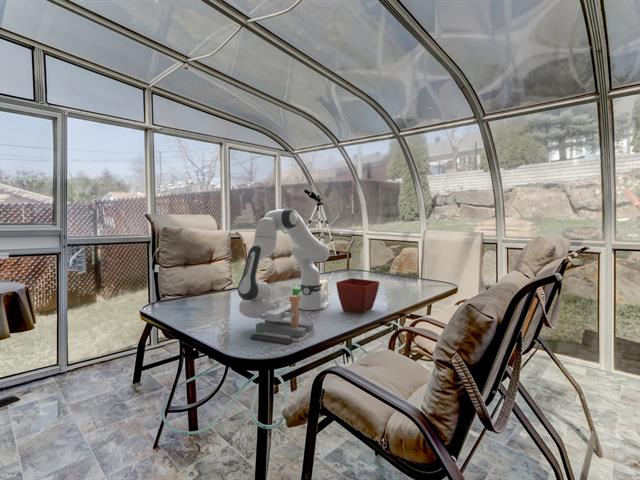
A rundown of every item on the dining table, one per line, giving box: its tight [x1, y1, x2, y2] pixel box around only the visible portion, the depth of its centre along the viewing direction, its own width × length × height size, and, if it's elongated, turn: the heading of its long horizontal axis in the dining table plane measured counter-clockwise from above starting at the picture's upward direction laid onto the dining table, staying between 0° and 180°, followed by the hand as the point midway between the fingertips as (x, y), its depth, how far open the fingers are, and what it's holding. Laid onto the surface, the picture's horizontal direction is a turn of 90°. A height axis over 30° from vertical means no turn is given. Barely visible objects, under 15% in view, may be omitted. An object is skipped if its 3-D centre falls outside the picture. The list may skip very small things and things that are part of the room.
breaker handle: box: [288, 294, 300, 327], centre depth 159 cm, size 4×4×16 cm
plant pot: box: [335, 277, 380, 314], centre depth 202 cm, size 19×19×17 cm
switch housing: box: [252, 319, 316, 342], centre depth 162 cm, size 16×24×4 cm
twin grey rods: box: [250, 334, 294, 345], centre depth 151 cm, size 4×20×2 cm, turn 67°
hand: (296, 313), depth 159 cm, fingers closed on breaker handle, 3 cm apart
